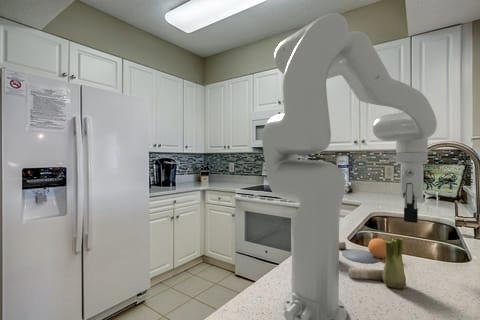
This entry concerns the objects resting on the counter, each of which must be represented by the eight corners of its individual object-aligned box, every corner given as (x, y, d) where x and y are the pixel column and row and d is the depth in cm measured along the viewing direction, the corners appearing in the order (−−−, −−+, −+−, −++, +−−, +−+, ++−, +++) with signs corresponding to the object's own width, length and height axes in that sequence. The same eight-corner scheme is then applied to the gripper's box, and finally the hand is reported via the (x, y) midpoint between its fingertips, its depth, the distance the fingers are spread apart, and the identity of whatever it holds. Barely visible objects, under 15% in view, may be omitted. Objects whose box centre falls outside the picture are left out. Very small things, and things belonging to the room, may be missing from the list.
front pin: (385, 274, 64) (351, 272, 65) (384, 282, 65) (350, 279, 66) (381, 268, 67) (348, 266, 68) (380, 275, 67) (348, 273, 68)
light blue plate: (375, 266, 73) (375, 265, 73) (337, 257, 80) (337, 256, 80) (382, 254, 82) (382, 254, 82) (347, 247, 89) (347, 246, 89)
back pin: (344, 249, 88) (319, 247, 90) (344, 242, 89) (319, 240, 91) (346, 249, 86) (320, 247, 88) (345, 241, 87) (320, 240, 88)
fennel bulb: (387, 290, 60) (387, 241, 60) (376, 280, 65) (377, 235, 65) (411, 291, 60) (412, 241, 60) (399, 281, 65) (399, 235, 65)
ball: (362, 240, 82) (369, 259, 78) (379, 234, 78) (388, 254, 75) (370, 242, 85) (377, 260, 82) (387, 237, 82) (396, 255, 78)
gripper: (426, 159, 64) (425, 230, 64) (428, 158, 76) (427, 218, 76) (392, 159, 69) (391, 225, 69) (399, 158, 80) (398, 215, 81)
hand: (410, 221), depth 72 cm, fingers closed
